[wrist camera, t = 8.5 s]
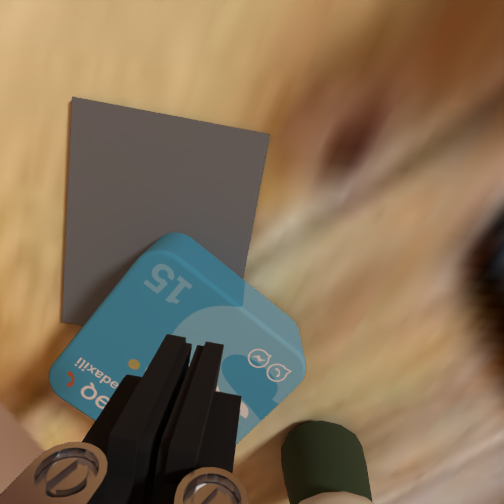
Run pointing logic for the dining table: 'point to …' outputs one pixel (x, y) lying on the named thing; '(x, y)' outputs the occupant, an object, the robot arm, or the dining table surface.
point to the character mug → (324, 466)
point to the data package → (183, 332)
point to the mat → (152, 194)
